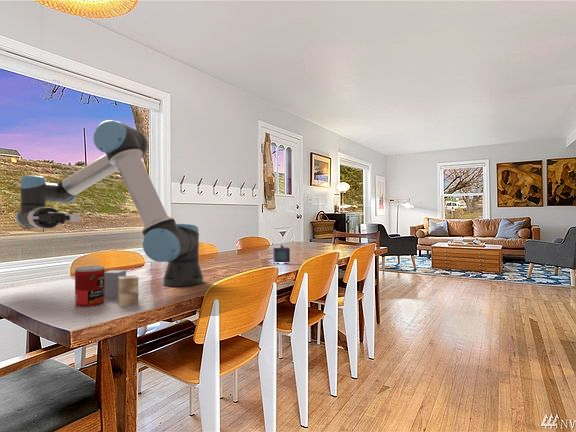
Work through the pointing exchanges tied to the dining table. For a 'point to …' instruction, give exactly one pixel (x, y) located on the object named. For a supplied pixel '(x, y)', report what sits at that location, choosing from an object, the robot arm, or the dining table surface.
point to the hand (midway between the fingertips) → (77, 217)
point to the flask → (281, 254)
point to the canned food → (89, 286)
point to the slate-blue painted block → (112, 282)
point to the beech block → (127, 290)
